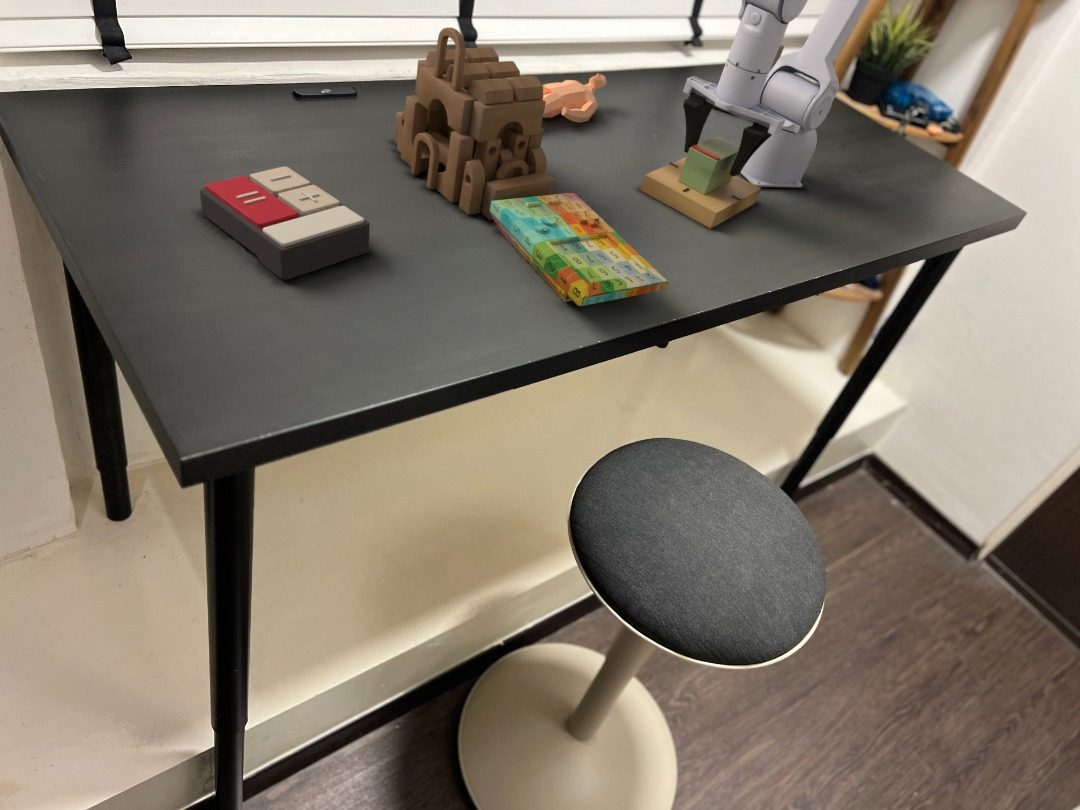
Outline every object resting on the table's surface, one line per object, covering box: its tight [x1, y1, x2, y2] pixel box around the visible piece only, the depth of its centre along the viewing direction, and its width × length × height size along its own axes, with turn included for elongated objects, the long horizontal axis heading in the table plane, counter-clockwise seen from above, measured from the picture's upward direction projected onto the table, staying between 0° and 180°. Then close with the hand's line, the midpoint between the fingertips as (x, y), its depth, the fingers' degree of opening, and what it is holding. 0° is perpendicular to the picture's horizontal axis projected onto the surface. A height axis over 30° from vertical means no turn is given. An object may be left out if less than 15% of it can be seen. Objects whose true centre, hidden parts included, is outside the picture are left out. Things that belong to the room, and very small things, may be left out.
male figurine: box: [542, 73, 607, 123], centre depth 124 cm, size 11×5×25 cm
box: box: [678, 136, 740, 194], centre depth 110 cm, size 8×4×5 cm, turn 141°
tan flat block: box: [640, 156, 762, 230], centre depth 113 cm, size 14×12×3 cm
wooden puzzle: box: [393, 27, 556, 221], centre depth 98 cm, size 22×15×19 cm, turn 39°
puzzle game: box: [489, 192, 669, 307], centre depth 90 cm, size 12×5×20 cm
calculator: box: [199, 165, 371, 281], centre depth 84 cm, size 11×4×15 cm
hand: (711, 162), depth 110 cm, fingers open, 7 cm apart
